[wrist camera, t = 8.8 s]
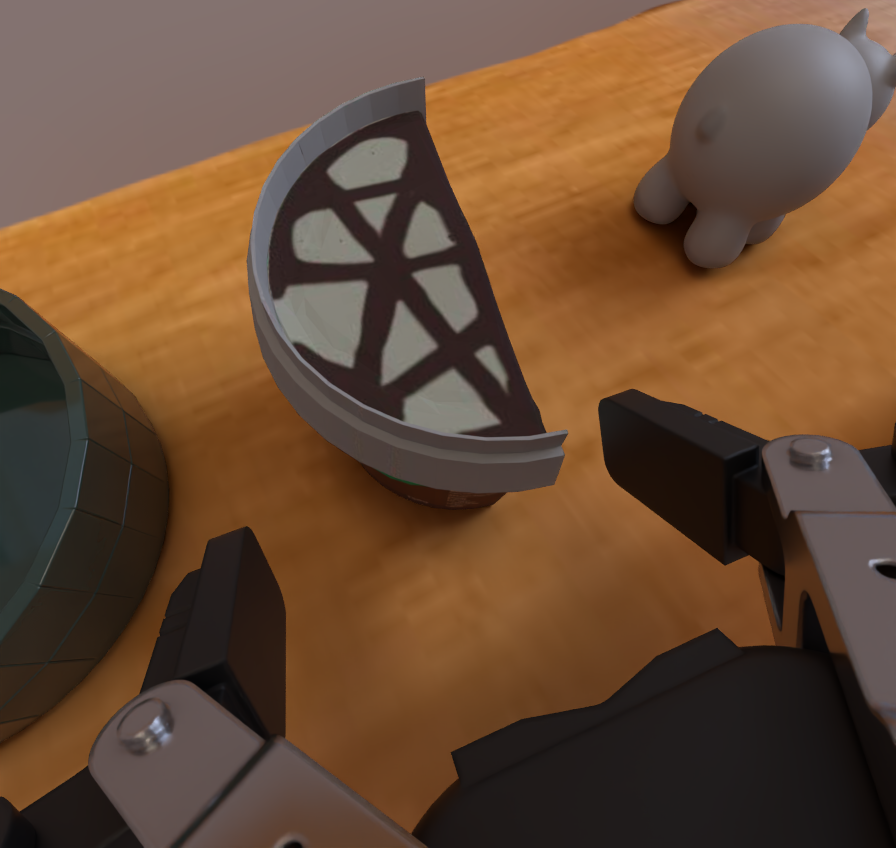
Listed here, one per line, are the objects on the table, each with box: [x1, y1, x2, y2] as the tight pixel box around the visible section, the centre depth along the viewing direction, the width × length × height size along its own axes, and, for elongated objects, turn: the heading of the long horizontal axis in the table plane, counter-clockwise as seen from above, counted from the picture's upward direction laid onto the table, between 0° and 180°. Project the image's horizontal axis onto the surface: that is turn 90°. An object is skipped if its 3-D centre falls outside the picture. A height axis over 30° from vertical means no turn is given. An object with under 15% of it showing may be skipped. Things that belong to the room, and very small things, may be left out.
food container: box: [247, 77, 568, 510], centre depth 16 cm, size 12×6×10 cm, turn 16°
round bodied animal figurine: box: [634, 8, 896, 268], centre depth 23 cm, size 7×12×8 cm, turn 121°
